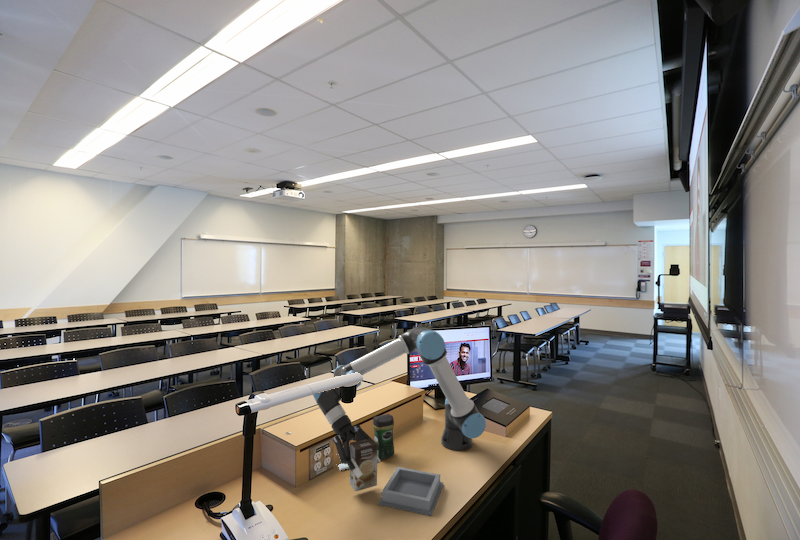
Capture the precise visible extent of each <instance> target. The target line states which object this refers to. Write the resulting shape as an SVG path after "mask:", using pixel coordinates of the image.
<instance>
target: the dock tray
mask: <svg viewBox="0 0 800 540" xmlns="http://www.w3.org/2000/svg"><path fill="white" fill-rule="evenodd" d="M443 487H444V482H443V481H441V474H439V473H434V472H429V471H423V470H416V469H412V468H407V467H401V466H397V467H396V468H395V470H394V472H393V473H392V475H391V476H390V477H389V480H388V481H387V483H386V484H385V486H384V487H383V489H382V491H381V497H380V498H379V499H378V502H377V505H378V506H383V507H386V508H387V507H388V508H394V509H397V510H401V511H405V512H410V513H414V514H419V515H423V516H428V517H432V515H433V513H434V511H435V508H436V505H437V502H438V499H439V497H440V495H441V492H442V489H443Z"/></svg>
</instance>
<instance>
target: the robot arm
mask: <svg viewBox="0 0 800 540" xmlns="http://www.w3.org/2000/svg"><path fill="white" fill-rule="evenodd" d="M445 343H446V342H445V340H444V338H443V337H442V336H441V334H440V333H439V332H437V331H436V330H433V329H430V328H428V327H426V326H421V325H420V326H416V327H414V328H413V327H412V328H410V329H409V330H407V331H405V332H403V333H401V334H399V335H398V337H397V339H395V340H392V341H390V342H389V343H387V344H385V345H383V346H381V347H379V348H377V349H375V350H373V351H371V352H369V353H367V354H365V355H363V356H360V357H359V358H357V359H355V360H354V361H351V362H349V363H347V364H345V365H343V364H341V365H338V366H336V368H335V369H334V371H333V378H334V377H335V376H341V375H347V374H351V373H355V372H358V373H360V374H361V375H362V376H364V375H365V374H367V373H369V372H371V371H374V370H376V369H378V368H380V367H381V366H383V365H385V364H388V363H389V362H391V361H392V360H395V359H396V358H397V359H398V358H399V357H401V356H403V355H404V354H407V355H410V354H411V353H414V352H417V353H418V355H419V357H420V359H421V361H422V363H423V364H424V365H425V366H429V369H430V370H431V372H432V374H433V376H434V378H435V379H436V383H438V385H439V387H440V389H441V391H442V393H443V394H444V397H445V400H444V401H445V402H444V429H443V431H442V435H441V438H440V439H441V440H440V441H441V445H442V447H445V448H446V449H449V450H453V451H467V450H469V449H470V448H472V446H473V439H476V438H478V437H480V436H481V435H483V433H484V431H485V430H486V426H487V421H486V418H485V417H484V415H483V414H482V413H480V412H479V410H478V407H477V405H476V403H474V400H472V399H470V398H469V397H468V396H467V394H466V392H465V391H464V389H463V387H462V385H461V383H460V380H458V378H457V375H456V373H455V371H454V370H453V367H452V365H451V364H450V362H449V360H448V358H447V354H448V351H447V349H446V346H445V345H446V344H445ZM361 385H362V381H361V380H360V382H359V383H358V384H357V388H359V387H360V386H361ZM312 396H313V398H314V401H315V402H316V404H317V406H318V408H319V409H320V410H321V412H322V413H323V415H324V417H325V419H326V420H327V422H328V424H329V425H331V426H330V427H331V429H332V430H333V432H334V433H335V434H336V435H335V436H334V438H333V439H332V441H333V443H334V445H335V447H336V451H337V454H338V455H339V458H340V461H341V463H342V464H343V463H344V464H348V466H349V468H350V469H351V470H353V472H354V474H355V475H356V477H357V479H358V478H359V477H360V476H361V475H363V474H362V472H361V470H360V469H359V467H358V465H357V464H356V462H355V461H354V459H352V460H351V454H350V443H351V441H353V442H356V441H361V440H365V439H370V438H371V439H372V440H373V441H374V438H372V437H371V436H370V435H369V434H367V432H366V431H365V430H364V429H362V427H361V425H360V424H359V423H357V424H356V425H352V420H351V419H350V417H349V416H348V414H346V411H345V410H344V408H343V407H342V405H341V403H340V401H342V399H341V397H340V389H339V388H335V389H331V390H327V391H324V392H320V393H315V394H313V393H312ZM380 462H381V460H380V459H379V458H378V456H377V465H378V464H379V463H380ZM350 469H349V470H350Z"/></svg>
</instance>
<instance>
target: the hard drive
mask: <svg viewBox="0 0 800 540" xmlns="http://www.w3.org/2000/svg"><path fill="white" fill-rule="evenodd" d="M338 467H339V468H338ZM337 468H338V469H339V471H340V472H342V471H346V470H345V469H347V470H350V468H349V466H348V464H344V463H343V464H342V463H341V464H339V465H338V466H337ZM341 470H342V471H341Z"/></svg>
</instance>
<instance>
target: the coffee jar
mask: <svg viewBox="0 0 800 540" xmlns="http://www.w3.org/2000/svg"><path fill="white" fill-rule="evenodd" d="M372 420H373V421H372V426H373V430H374V432H373V435H374V436H373V440H374V442H375V443H376V444H377V456H378V458H379V459H380V461H381V460H386V459H390V458H392V457H394V455H395V445H394V434H393V433H394V426H395V422H394V421H395V419H394V416H393V415H391V414H390V413H385V414H382V415H377V416H374V417H373V418H372Z"/></svg>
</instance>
